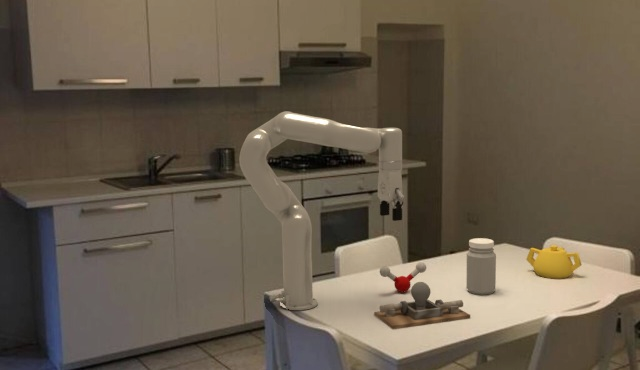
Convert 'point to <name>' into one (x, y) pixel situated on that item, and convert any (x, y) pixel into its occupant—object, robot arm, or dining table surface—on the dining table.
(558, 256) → the yellow sugar bowl
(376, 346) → the dining table surface
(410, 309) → the shaft bench
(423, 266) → the molecular model
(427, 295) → the light bulb
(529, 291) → the dining table surface
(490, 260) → the jar
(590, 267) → the dining table surface
